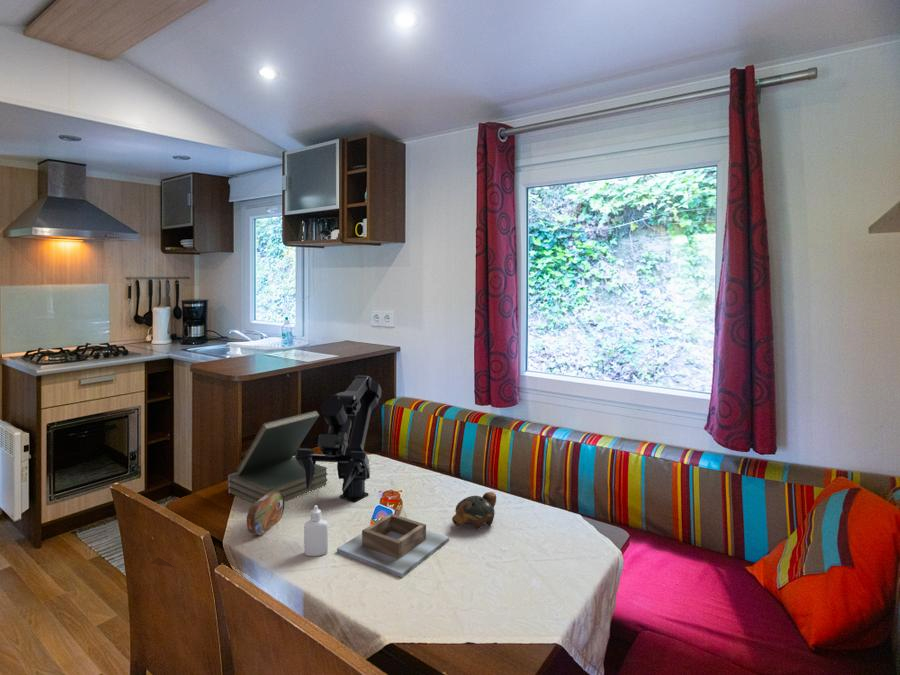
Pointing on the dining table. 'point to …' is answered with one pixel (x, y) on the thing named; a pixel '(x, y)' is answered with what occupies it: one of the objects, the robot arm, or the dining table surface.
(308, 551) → the eye dropper bottle
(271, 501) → the tin
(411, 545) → the box
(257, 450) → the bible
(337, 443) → the robot arm
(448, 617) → the dining table surface
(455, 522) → the decorative turtle
